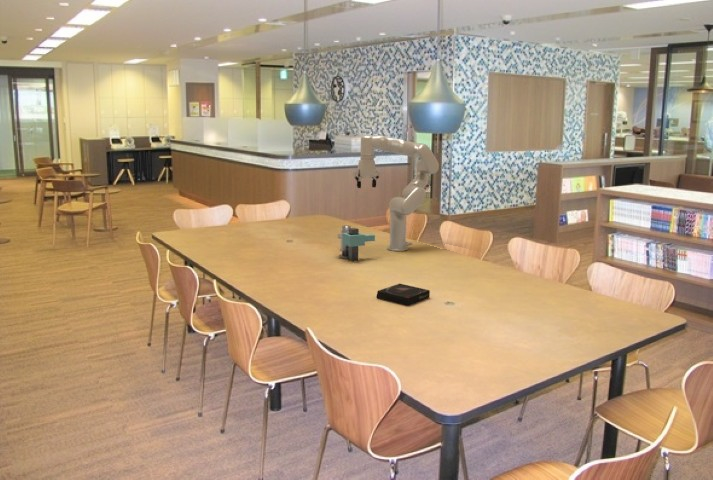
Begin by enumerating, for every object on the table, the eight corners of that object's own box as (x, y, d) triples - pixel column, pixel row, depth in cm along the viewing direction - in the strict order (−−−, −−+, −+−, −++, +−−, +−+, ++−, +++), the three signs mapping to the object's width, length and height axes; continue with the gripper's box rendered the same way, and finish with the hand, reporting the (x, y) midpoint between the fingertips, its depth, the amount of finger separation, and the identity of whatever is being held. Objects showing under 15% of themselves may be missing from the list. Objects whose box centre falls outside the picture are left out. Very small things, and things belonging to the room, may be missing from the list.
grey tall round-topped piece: (350, 254, 361) (350, 223, 357) (358, 258, 352) (358, 226, 349) (334, 256, 356) (334, 225, 353) (342, 259, 348) (342, 228, 344)
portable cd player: (398, 291, 288) (398, 283, 288) (429, 298, 278) (429, 290, 277) (376, 299, 276) (376, 290, 275) (407, 307, 265) (408, 298, 264)
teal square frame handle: (369, 241, 355) (369, 230, 353) (377, 244, 347) (377, 233, 345) (342, 243, 347) (342, 233, 346) (349, 246, 339) (349, 236, 338)
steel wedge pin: (354, 259, 349) (355, 227, 346) (358, 260, 346) (358, 228, 342) (348, 260, 347) (348, 228, 344) (351, 261, 344) (352, 229, 340)
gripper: (377, 157, 364) (376, 186, 367) (350, 157, 356) (350, 187, 359) (383, 157, 357) (382, 187, 360) (356, 158, 349) (356, 188, 352)
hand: (366, 187), depth 360 cm, fingers open, 9 cm apart
